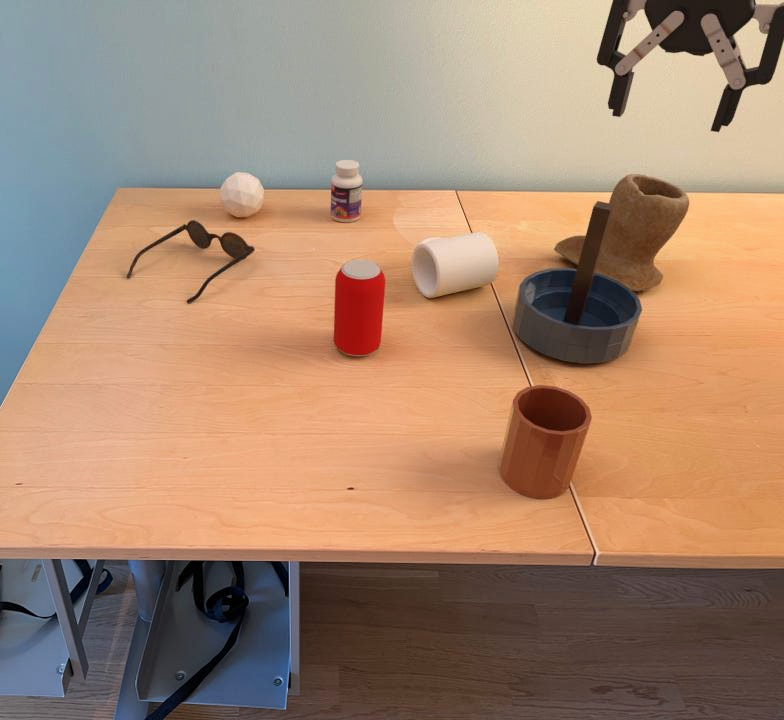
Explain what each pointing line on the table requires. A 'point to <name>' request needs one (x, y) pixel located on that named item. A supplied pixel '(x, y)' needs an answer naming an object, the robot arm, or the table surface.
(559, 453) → the holder
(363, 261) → the beverage can
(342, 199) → the pill bottle
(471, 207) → the table surface
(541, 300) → the bowl
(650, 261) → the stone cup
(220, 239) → the eyeglasses
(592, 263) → the stick
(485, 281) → the mug
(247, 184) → the geometric ball
